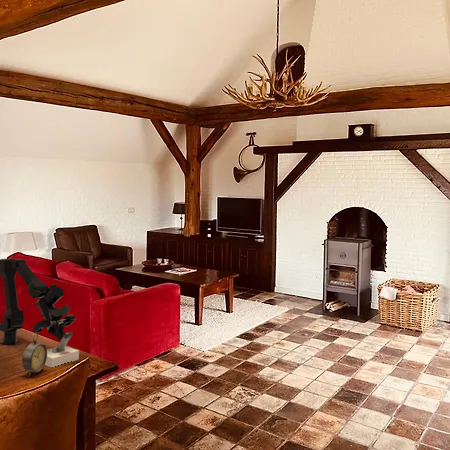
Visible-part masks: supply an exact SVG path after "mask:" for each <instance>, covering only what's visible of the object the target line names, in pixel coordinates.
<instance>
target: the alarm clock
mask: <svg viewBox="0 0 450 450" xmlns="http://www.w3.org/2000/svg"><path fill="white" fill-rule="evenodd" d="M38 334H39V333H34V335H33V337H32V340H33V343H30V344H29V345H27V347H26V348H25V349H24V351H23V354H22V359H21V362H22V363H21V365H22V367H23V369H24V370H25V371H26V372H29V374H28V376H27V378H30V377H31V375H32V373H39V372H41V371H43V368H44V367H45V366H46V365H45V362H46V359H47V350H48V349H47V346H46V345H45V344H43V343H39V342H37V341H38V337H39V335H38ZM35 336H36V339H35Z"/></svg>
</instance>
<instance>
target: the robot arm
mask: <svg viewBox="0 0 450 450" xmlns="http://www.w3.org/2000/svg"><path fill="white" fill-rule="evenodd" d="M17 273H18V275H20V277H21V278H22V280H23V281H24V283H25V284H26V286H27V293H28V294H29V296H30V297H31V298H32V299H37V300H36V301H35V303H34V307H36V308H37V307H38V308H39V309H40V312H41V314H42V315H40V316H41V319H43V318H44V320H39V321H37V323H36V324H34V325H33V327H32V331H33V333H34V334H35V333H37V334H39V333H41V332H42V329H45V328H46V329H47V330H46V333H48V334H51V335H52V336H54V338H56V339H57V340H59V341H61V340H62V338H63V334H64V333H65V332H64V331H65V329H64V328H65V327H69V326H71V324H73V323H74V322H75V321H76V320H77V318H76V316H75V315H74V314H69V313H70V312H71V308H70V306H69V305H68V304H65V305H63V306H62V307H60V308H59V307H55V305H54V304H56V303H57V302H59V300H60V299H62V298H63V296H64V295H65V292H64V289H63V288H62V287H60V286H57V284H56V283H54V284H53V283H52V284H50V286H48V284H46V282H43V281H42V280H40V279H39V278H38V277H37V276H36V275H35V273H34V272H33V271H32V270H31V268H30V267H29V265H28V264H27V262H26V260H25V259H23V258H16V259H15V258H13V257H12V258H0V277H1V279H2V280H3V281H2V282H3V289H4V291H3V292H4V299H5V308H6V309H5V311H4V314H3V316H2V317H3V320H2V321H1V322H0V331H1V332H3V333H2V335H3V336H2V340H1V342H0V345H11V346H12V345H13V346H14V345H16V344H17V343H18V342H19V339H17V336H18V335H17V333H18V330H22V327H23V326H24V323H25V315H24V310H21V308H19V305H18V304H19V303H18V295H17V288H16V279H15V278H16V275H17Z"/></svg>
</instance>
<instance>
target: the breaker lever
mask: <svg viewBox="0 0 450 450" xmlns="http://www.w3.org/2000/svg"><path fill="white" fill-rule="evenodd" d="M73 334H74V333H73V332H72V331H67V332H64V334H63V338H62V340H59V341H60V342H59V343H58V345H57V346H56V347H57V348H56V349H57V351H56V352H61V351H63V349H64V347H65V346H67V344H68V342H69V341H70V339H71V338H72V337H73Z"/></svg>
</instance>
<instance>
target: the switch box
mask: <svg viewBox="0 0 450 450" xmlns="http://www.w3.org/2000/svg"><path fill="white" fill-rule="evenodd" d="M56 348H57V346H56V347H53V348H52V347H51V348H48V349H47V359H46V362H45V365H44V366H46V367H49V368H51V367H53V368H55V366H56V367H59V366H62V365H61V364H63V365H65V364H64V363H66V364H68V363H67V362H69V363H72V362H76V361H78V360H79V359H80V358H79V356H80V349H79V350H78V349H76V348H73V347H70V346H67V345H66V346H65V347H64V349H63V351H61V352H56V351H57V349H56ZM71 361H72V362H71ZM58 365H59V366H58Z"/></svg>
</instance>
